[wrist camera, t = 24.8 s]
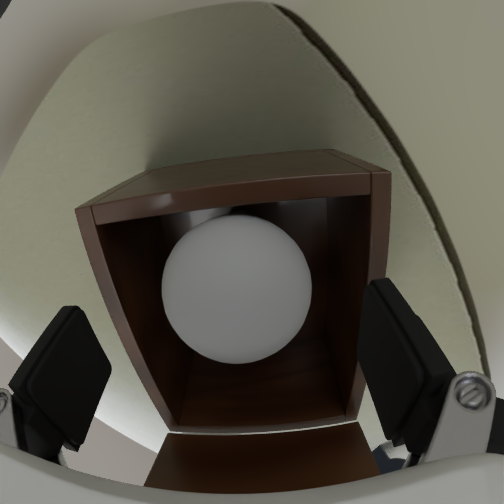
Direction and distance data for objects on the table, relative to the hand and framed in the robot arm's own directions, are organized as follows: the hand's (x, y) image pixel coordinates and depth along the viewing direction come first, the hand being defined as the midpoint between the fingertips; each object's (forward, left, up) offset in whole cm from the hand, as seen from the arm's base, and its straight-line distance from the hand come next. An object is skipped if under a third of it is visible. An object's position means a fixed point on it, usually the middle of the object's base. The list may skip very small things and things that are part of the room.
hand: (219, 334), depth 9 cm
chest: (+4, 0, -12) cm, 13 cm away
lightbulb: (0, 0, -11) cm, 11 cm away
